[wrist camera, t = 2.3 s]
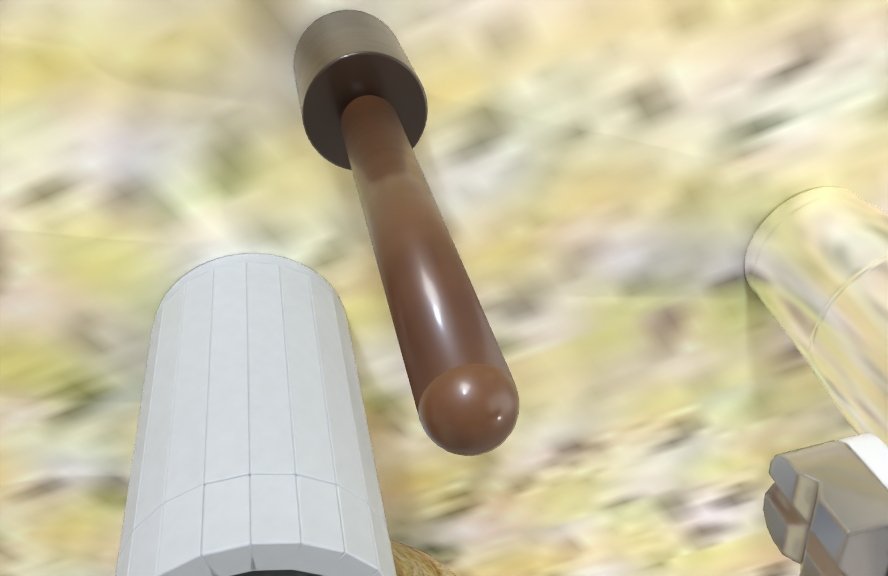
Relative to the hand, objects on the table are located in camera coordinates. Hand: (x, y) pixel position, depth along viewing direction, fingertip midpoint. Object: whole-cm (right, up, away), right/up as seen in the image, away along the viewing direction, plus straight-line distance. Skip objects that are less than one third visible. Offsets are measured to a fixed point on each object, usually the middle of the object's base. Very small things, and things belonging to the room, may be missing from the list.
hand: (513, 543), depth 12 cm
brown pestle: (-5, +12, +18) cm, 22 cm away
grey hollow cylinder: (-9, +2, +24) cm, 25 cm away
